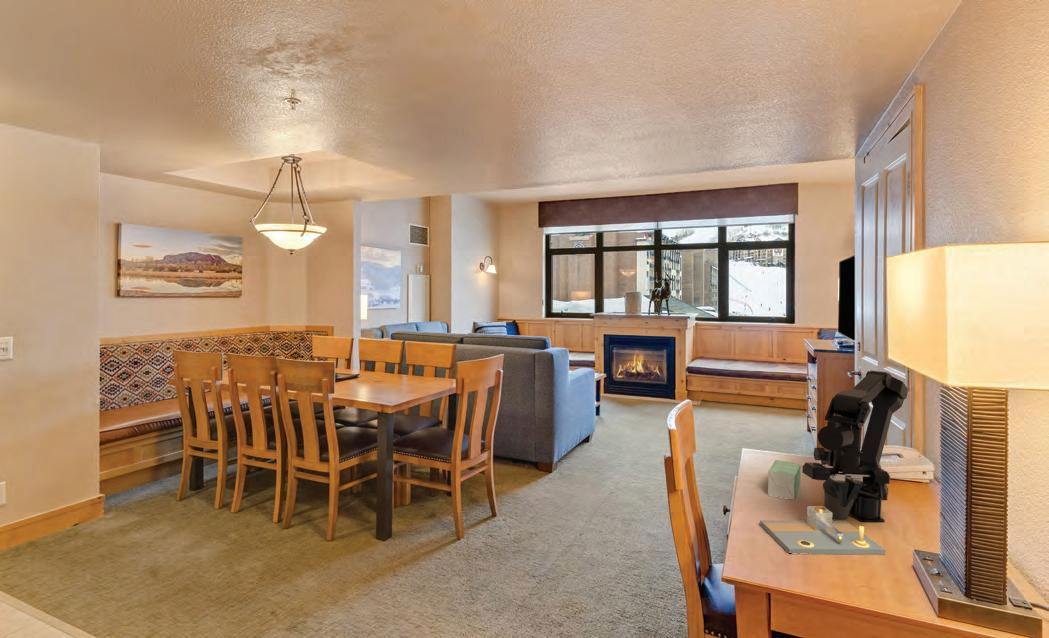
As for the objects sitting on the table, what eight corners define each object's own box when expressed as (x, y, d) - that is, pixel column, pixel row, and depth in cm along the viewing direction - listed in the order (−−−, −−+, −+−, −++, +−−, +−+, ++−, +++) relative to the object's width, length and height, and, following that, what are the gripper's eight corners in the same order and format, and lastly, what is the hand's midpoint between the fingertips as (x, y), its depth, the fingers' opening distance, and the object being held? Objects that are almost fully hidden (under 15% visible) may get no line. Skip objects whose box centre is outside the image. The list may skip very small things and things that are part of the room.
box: (800, 486, 163) (801, 462, 163) (795, 501, 152) (795, 475, 151) (774, 481, 167) (775, 458, 167) (767, 495, 156) (767, 470, 155)
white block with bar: (822, 523, 134) (823, 505, 134) (849, 544, 123) (850, 524, 123) (806, 523, 134) (807, 504, 134) (832, 544, 123) (833, 524, 123)
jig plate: (844, 525, 136) (845, 504, 136) (884, 554, 121) (886, 531, 121) (759, 524, 136) (760, 504, 136) (789, 554, 121) (790, 531, 121)
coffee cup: (811, 511, 144) (816, 482, 140) (831, 499, 147) (836, 471, 143) (840, 530, 137) (845, 501, 133) (860, 518, 140) (866, 488, 136)
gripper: (865, 438, 139) (861, 497, 140) (793, 435, 140) (790, 493, 140) (893, 450, 128) (889, 514, 129) (815, 446, 129) (811, 509, 129)
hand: (843, 506), depth 132 cm, fingers closed
